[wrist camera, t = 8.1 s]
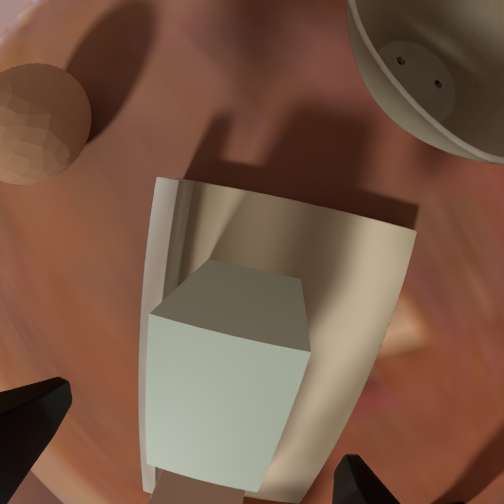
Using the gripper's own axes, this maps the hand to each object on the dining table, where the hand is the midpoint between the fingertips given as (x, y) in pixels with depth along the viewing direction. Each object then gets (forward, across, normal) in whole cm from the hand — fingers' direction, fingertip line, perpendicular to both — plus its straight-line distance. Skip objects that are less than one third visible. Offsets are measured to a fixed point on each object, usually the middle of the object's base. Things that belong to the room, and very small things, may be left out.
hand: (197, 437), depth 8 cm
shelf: (+9, -2, +4) cm, 10 cm away
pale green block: (+8, 0, 0) cm, 8 cm away
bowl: (+9, -7, -15) cm, 19 cm away
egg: (+9, +12, -9) cm, 18 cm away
